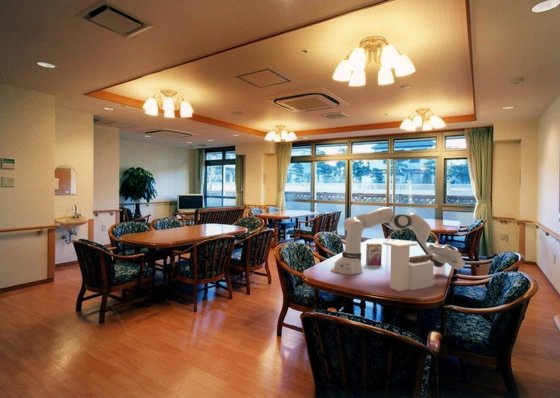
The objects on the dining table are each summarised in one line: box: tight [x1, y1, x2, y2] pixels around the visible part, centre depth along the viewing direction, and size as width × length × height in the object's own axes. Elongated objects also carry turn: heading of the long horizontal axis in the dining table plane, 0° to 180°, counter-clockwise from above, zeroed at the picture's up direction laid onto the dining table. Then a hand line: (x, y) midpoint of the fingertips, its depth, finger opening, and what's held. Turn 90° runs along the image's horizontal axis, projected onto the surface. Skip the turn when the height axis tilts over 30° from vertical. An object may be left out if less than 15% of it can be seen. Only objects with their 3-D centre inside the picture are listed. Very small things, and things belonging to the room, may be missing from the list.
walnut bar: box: [409, 254, 433, 263], centre depth 202 cm, size 18×3×3 cm, turn 118°
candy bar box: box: [365, 243, 383, 266], centre depth 253 cm, size 11×5×16 cm, turn 92°
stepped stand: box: [382, 240, 435, 292], centre depth 197 cm, size 31×12×28 cm, turn 118°
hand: (436, 246), depth 209 cm, fingers open, 8 cm apart
